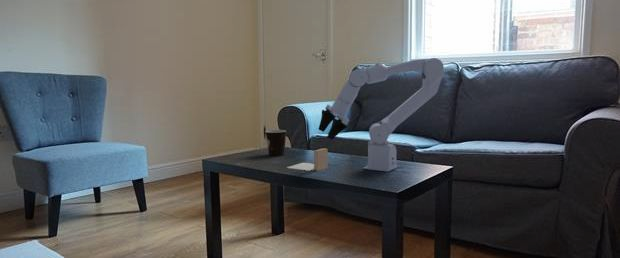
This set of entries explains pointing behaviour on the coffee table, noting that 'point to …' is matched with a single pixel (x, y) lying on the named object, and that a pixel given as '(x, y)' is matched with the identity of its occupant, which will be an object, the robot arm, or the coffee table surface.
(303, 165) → the felt mat
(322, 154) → the tile
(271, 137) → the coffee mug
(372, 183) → the coffee table surface
